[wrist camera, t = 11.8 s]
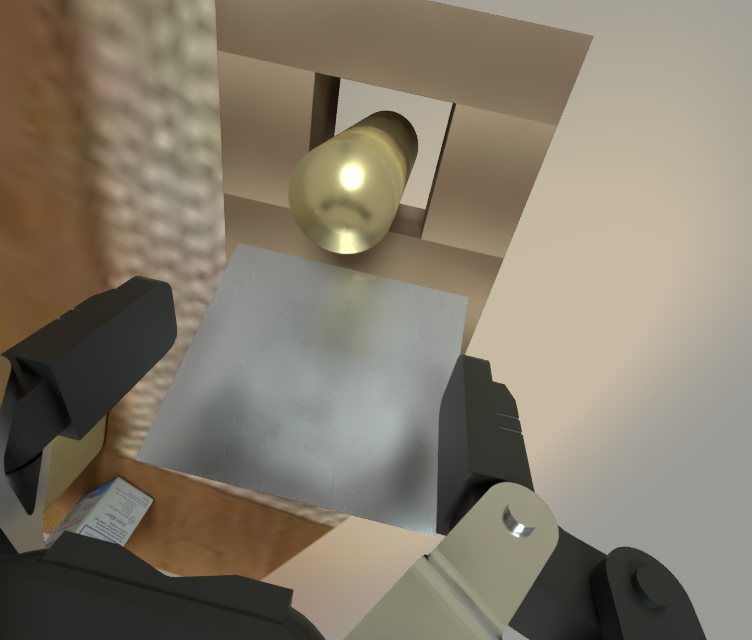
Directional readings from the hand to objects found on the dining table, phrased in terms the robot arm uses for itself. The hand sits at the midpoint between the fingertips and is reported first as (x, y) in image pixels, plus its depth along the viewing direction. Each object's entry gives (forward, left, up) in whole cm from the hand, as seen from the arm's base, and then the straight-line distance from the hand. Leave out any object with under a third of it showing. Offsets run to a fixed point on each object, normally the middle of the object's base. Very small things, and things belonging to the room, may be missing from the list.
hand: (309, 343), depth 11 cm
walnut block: (+2, 0, -11) cm, 11 cm away
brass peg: (-3, 0, -11) cm, 12 cm away
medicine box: (+36, -21, -11) cm, 43 cm away
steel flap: (+4, 0, -3) cm, 5 cm away
